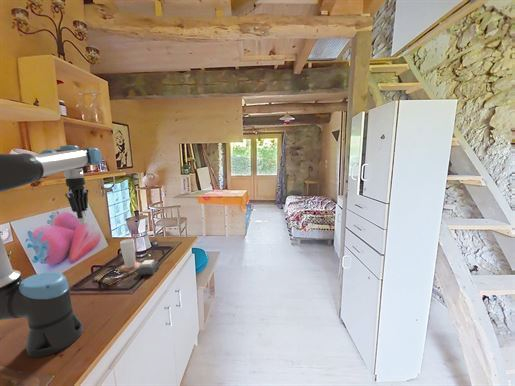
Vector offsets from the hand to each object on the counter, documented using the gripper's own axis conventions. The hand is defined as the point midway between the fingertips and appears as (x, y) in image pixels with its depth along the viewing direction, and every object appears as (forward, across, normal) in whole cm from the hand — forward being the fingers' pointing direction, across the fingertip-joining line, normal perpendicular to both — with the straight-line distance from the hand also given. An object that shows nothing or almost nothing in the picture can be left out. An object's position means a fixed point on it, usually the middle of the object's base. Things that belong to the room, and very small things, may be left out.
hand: (82, 223), depth 122 cm
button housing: (+29, +3, -28) cm, 41 cm away
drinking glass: (+28, +8, -16) cm, 34 cm away
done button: (+28, +3, -28) cm, 40 cm away
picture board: (+29, +3, -14) cm, 33 cm away
